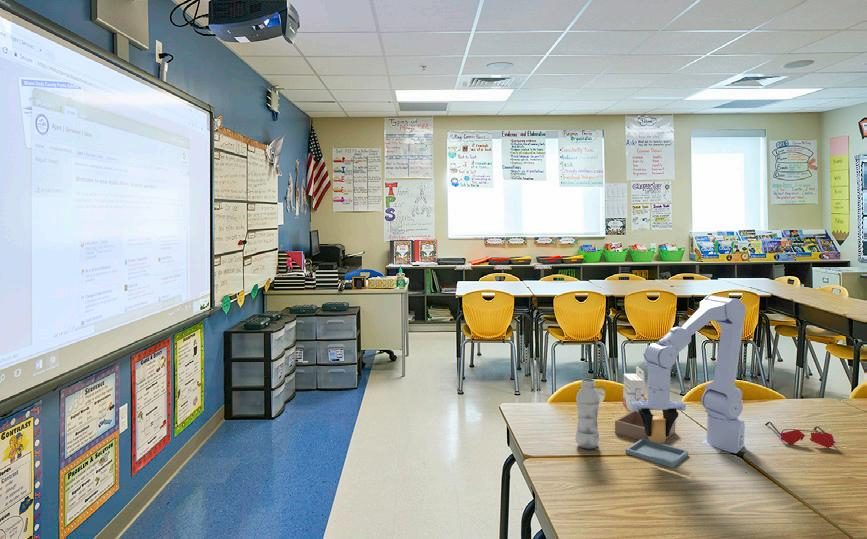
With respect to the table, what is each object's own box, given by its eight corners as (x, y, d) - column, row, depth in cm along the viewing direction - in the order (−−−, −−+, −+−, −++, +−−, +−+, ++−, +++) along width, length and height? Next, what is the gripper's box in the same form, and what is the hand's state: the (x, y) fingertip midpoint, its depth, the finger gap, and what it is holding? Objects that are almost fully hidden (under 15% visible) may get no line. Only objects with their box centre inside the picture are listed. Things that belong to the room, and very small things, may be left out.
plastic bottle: (600, 452, 152) (601, 384, 150) (575, 450, 153) (577, 382, 151) (598, 443, 158) (599, 377, 156) (574, 441, 159) (575, 376, 158)
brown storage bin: (675, 434, 164) (675, 420, 164) (657, 447, 155) (657, 432, 155) (633, 423, 174) (634, 410, 173) (614, 434, 165) (615, 420, 164)
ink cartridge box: (621, 405, 192) (622, 365, 191) (635, 405, 192) (636, 365, 191) (630, 413, 184) (631, 371, 182) (644, 413, 183) (645, 371, 182)
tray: (688, 457, 148) (688, 451, 148) (672, 469, 141) (672, 463, 140) (642, 443, 157) (642, 438, 157) (625, 455, 150) (625, 449, 150)
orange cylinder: (668, 439, 149) (668, 418, 148) (661, 444, 146) (661, 422, 145) (652, 435, 152) (652, 415, 151) (645, 439, 149) (646, 418, 148)
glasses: (780, 445, 157) (781, 428, 157) (764, 425, 173) (765, 410, 172) (836, 451, 153) (837, 434, 152) (814, 430, 168) (815, 415, 168)
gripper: (678, 383, 151) (676, 429, 152) (627, 383, 151) (626, 429, 153) (690, 390, 144) (688, 439, 145) (636, 390, 144) (635, 439, 146)
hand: (657, 434), depth 149 cm, fingers closed on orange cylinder, 4 cm apart
